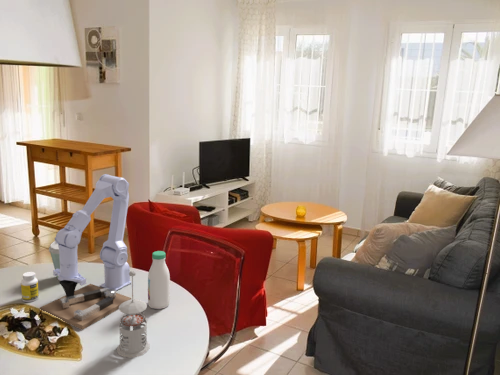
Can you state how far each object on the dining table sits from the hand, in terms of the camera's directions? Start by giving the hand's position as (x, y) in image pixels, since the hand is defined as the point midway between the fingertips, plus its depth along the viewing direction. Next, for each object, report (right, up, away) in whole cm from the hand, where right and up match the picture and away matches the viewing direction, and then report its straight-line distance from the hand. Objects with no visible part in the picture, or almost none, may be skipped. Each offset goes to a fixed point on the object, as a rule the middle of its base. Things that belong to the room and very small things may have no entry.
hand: (70, 298), depth 150 cm
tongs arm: (+7, -1, 0) cm, 7 cm away
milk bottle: (+31, -3, +4) cm, 31 cm away
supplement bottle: (-16, -1, +3) cm, 16 cm away
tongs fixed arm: (+10, -3, -5) cm, 12 cm away
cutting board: (+6, -3, 0) cm, 7 cm away
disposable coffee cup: (-11, +3, +21) cm, 23 cm away
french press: (+28, -9, -21) cm, 37 cm away
